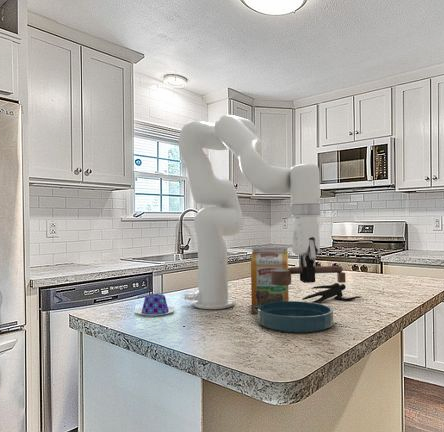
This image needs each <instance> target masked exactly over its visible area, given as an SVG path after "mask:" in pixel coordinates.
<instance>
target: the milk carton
mask: <svg viewBox="0 0 444 432" xmlns="http://www.w3.org/2000/svg"><path fill="white" fill-rule="evenodd" d="M251 248H252V250H251V251H252V253H251V260H250V280H251V281H250V290H251V291H250V295H251V314H258V307H259V306H260V305H262V304H266V303H270V302H279V301H290V300H289V298H290V297H289V294H290V293H289V285H272V284H271V270H274V269H288V268H289V254H288V247H287V246H254V247H251Z"/></svg>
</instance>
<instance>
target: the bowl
mask: <svg viewBox="0 0 444 432" xmlns="http://www.w3.org/2000/svg"><path fill="white" fill-rule="evenodd" d="M312 302H313V301H303V300H302V301H300V300H289V301H279V302H270V303H266V304H262V305H260V306H259V307H258V313H257V322H258V323H259V325H261V326H263V327H265V328H267V329H270V330H273V331H278V332H283V333H295V334H296V333H297V334H301V333H303V334H306V333H315V332H321V331H324V330H326V329H329V328H331V327H333V325H334V310H333V308H332V307H331V306H329V305H325V304H323V303H312Z"/></svg>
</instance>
